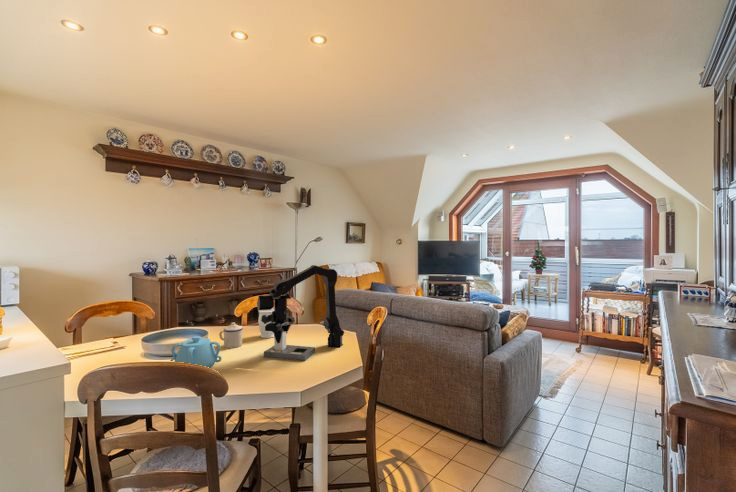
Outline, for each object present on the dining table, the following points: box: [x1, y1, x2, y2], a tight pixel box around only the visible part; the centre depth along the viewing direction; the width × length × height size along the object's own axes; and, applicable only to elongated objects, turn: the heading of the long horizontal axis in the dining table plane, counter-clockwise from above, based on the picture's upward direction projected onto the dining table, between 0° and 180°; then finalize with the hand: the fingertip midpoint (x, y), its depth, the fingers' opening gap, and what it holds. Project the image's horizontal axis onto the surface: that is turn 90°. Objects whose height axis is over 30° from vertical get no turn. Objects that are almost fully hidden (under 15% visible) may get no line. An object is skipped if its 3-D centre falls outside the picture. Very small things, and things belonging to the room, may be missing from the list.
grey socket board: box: [263, 344, 316, 362], centre depth 159 cm, size 20×12×3 cm, turn 78°
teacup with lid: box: [219, 322, 244, 349], centre depth 174 cm, size 12×9×12 cm
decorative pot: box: [169, 335, 222, 369], centre depth 141 cm, size 16×16×14 cm
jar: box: [258, 307, 274, 339], centre depth 191 cm, size 11×10×15 cm
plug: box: [273, 331, 287, 351], centre depth 160 cm, size 5×4×8 cm
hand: (280, 341), depth 160 cm, fingers closed on plug, 4 cm apart
